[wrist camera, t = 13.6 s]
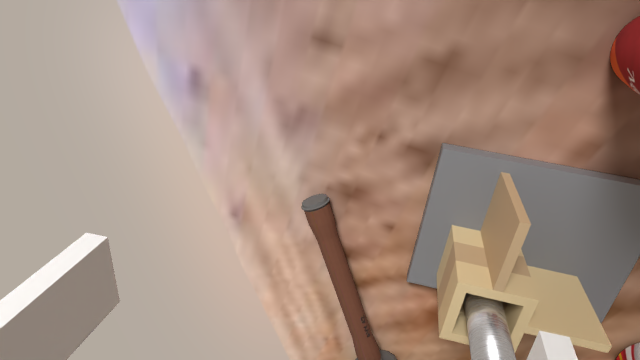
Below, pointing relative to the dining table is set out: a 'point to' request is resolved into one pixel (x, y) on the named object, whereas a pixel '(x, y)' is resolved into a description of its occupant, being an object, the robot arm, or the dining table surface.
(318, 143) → the dining table surface
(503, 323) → the hinge pin
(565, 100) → the dining table surface
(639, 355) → the soda can
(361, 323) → the mallet
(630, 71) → the coffee cup
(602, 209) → the stand
